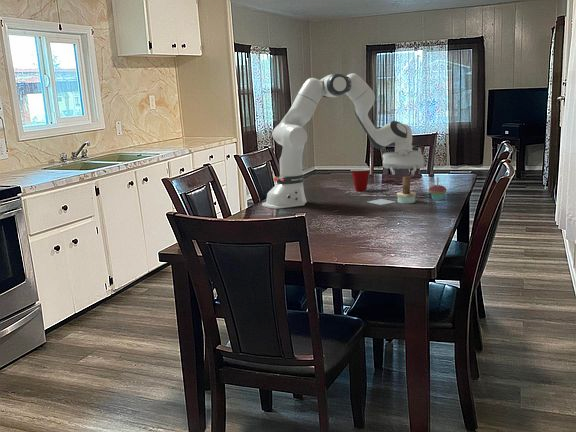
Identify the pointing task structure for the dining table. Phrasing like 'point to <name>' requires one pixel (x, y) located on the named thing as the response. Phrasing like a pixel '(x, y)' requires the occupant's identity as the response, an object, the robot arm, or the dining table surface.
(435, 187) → the cupcake
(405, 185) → the lid
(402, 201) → the bowl
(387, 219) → the dining table surface
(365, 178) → the plastic cup
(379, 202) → the mat
